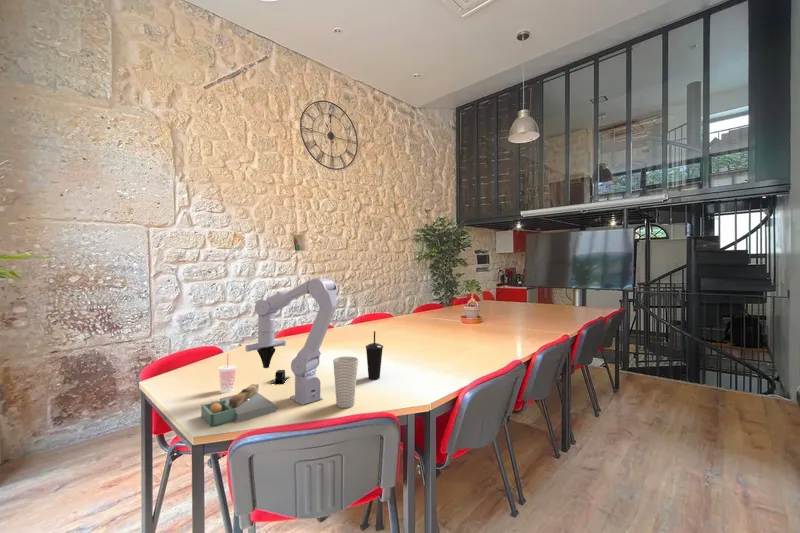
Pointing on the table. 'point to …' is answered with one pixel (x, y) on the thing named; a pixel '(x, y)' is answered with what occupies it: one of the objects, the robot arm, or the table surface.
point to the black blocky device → (280, 377)
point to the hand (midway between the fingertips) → (266, 367)
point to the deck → (252, 407)
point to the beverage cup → (227, 377)
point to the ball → (215, 408)
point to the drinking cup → (374, 359)
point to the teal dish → (218, 414)
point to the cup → (345, 380)
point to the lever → (243, 395)
